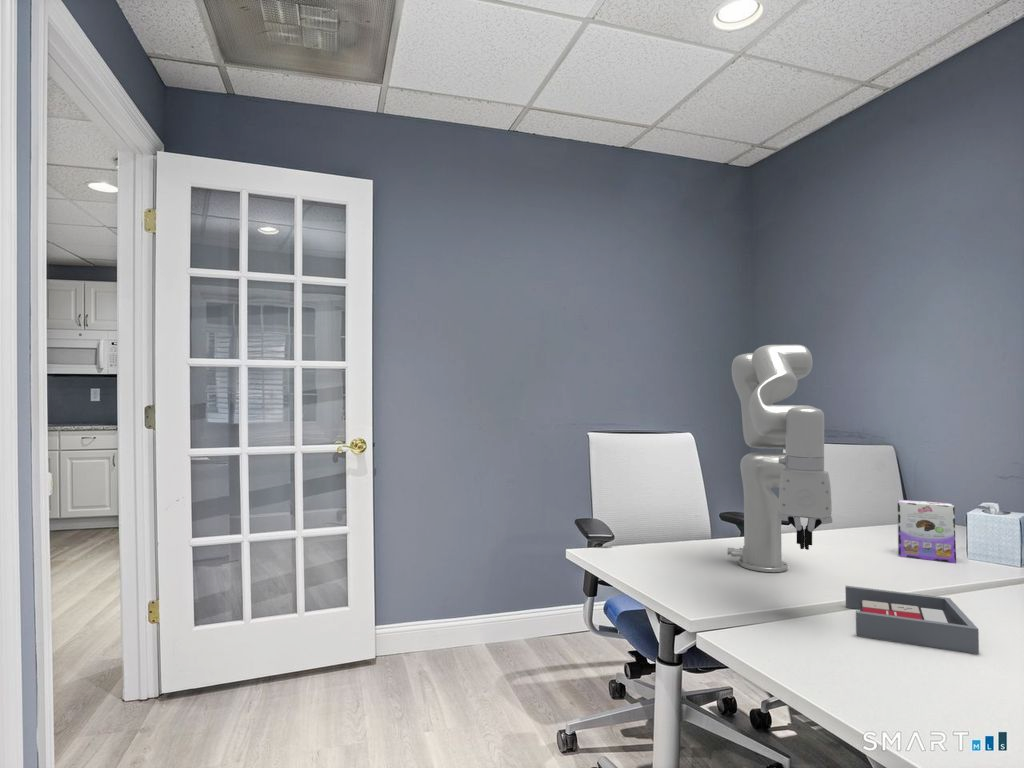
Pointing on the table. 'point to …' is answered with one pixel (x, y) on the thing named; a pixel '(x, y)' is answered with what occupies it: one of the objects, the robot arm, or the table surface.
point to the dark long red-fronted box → (904, 611)
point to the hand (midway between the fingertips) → (804, 547)
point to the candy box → (926, 530)
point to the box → (914, 621)
